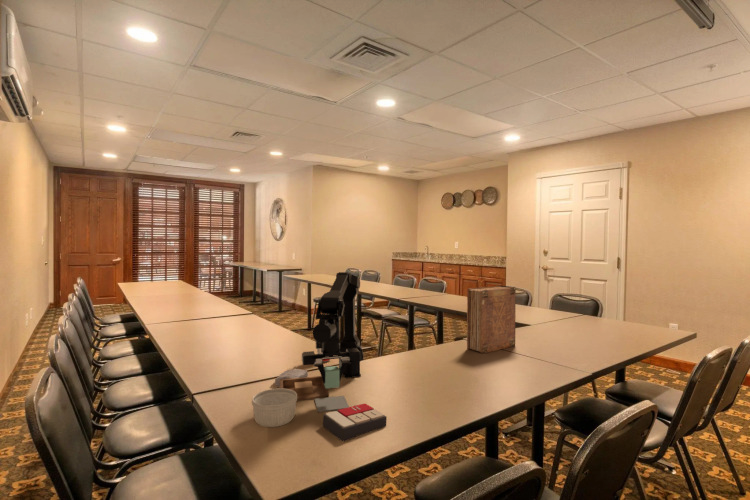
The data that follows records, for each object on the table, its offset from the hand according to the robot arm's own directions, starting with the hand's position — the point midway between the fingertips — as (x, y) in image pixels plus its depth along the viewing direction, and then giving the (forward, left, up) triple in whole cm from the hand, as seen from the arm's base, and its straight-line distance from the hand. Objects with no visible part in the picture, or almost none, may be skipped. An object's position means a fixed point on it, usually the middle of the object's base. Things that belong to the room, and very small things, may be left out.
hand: (331, 382), depth 128 cm
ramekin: (+18, +6, -8) cm, 21 cm away
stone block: (+12, -25, -8) cm, 29 cm away
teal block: (0, 0, -1) cm, 1 cm away
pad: (0, 0, -7) cm, 7 cm away
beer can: (-4, -48, -7) cm, 49 cm away
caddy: (+8, -12, -7) cm, 16 cm away
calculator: (-4, +17, -8) cm, 19 cm away
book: (-88, -47, -7) cm, 100 cm away
